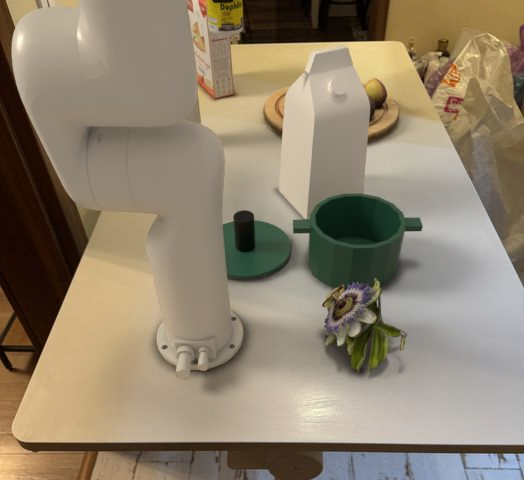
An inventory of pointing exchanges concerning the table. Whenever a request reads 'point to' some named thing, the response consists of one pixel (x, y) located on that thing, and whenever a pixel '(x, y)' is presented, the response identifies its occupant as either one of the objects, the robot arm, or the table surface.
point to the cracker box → (210, 53)
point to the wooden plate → (381, 109)
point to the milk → (324, 131)
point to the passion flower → (359, 323)
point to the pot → (355, 239)
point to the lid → (253, 246)
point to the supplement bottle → (225, 17)
